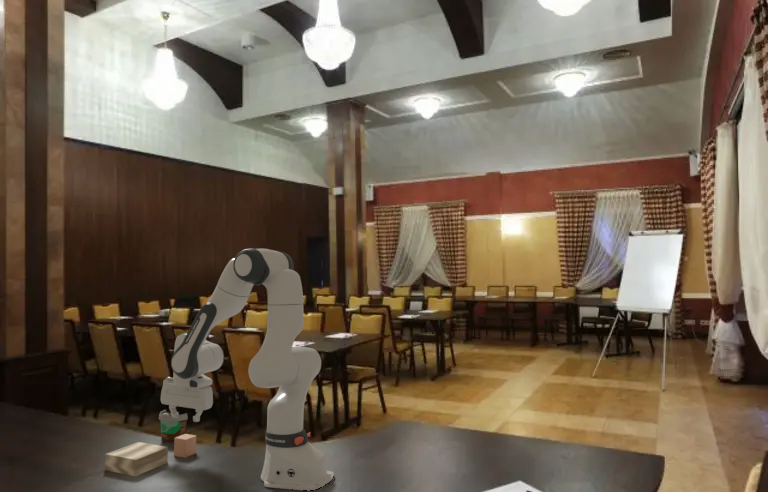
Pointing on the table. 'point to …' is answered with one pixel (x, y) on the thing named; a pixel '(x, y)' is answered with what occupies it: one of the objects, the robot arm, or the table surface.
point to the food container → (172, 426)
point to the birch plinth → (136, 458)
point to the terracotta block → (185, 445)
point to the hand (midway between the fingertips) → (185, 419)
